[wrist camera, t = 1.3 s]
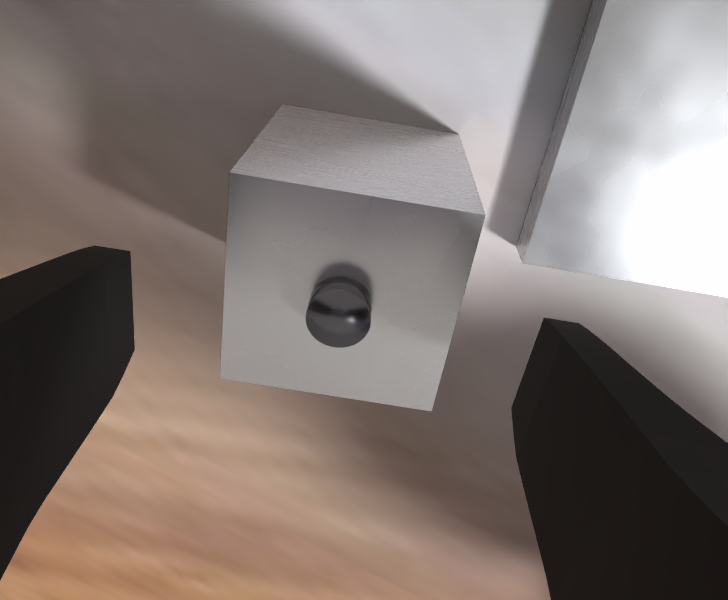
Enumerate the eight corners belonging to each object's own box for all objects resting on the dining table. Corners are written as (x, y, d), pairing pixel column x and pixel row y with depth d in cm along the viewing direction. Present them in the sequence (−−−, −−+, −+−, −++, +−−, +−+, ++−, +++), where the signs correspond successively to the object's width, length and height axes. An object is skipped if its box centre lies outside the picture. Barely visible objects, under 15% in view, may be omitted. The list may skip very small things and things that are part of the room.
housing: (423, 287, 18) (432, 431, 12) (269, 262, 17) (211, 396, 12) (459, 133, 15) (490, 228, 10) (283, 103, 15) (220, 183, 10)
